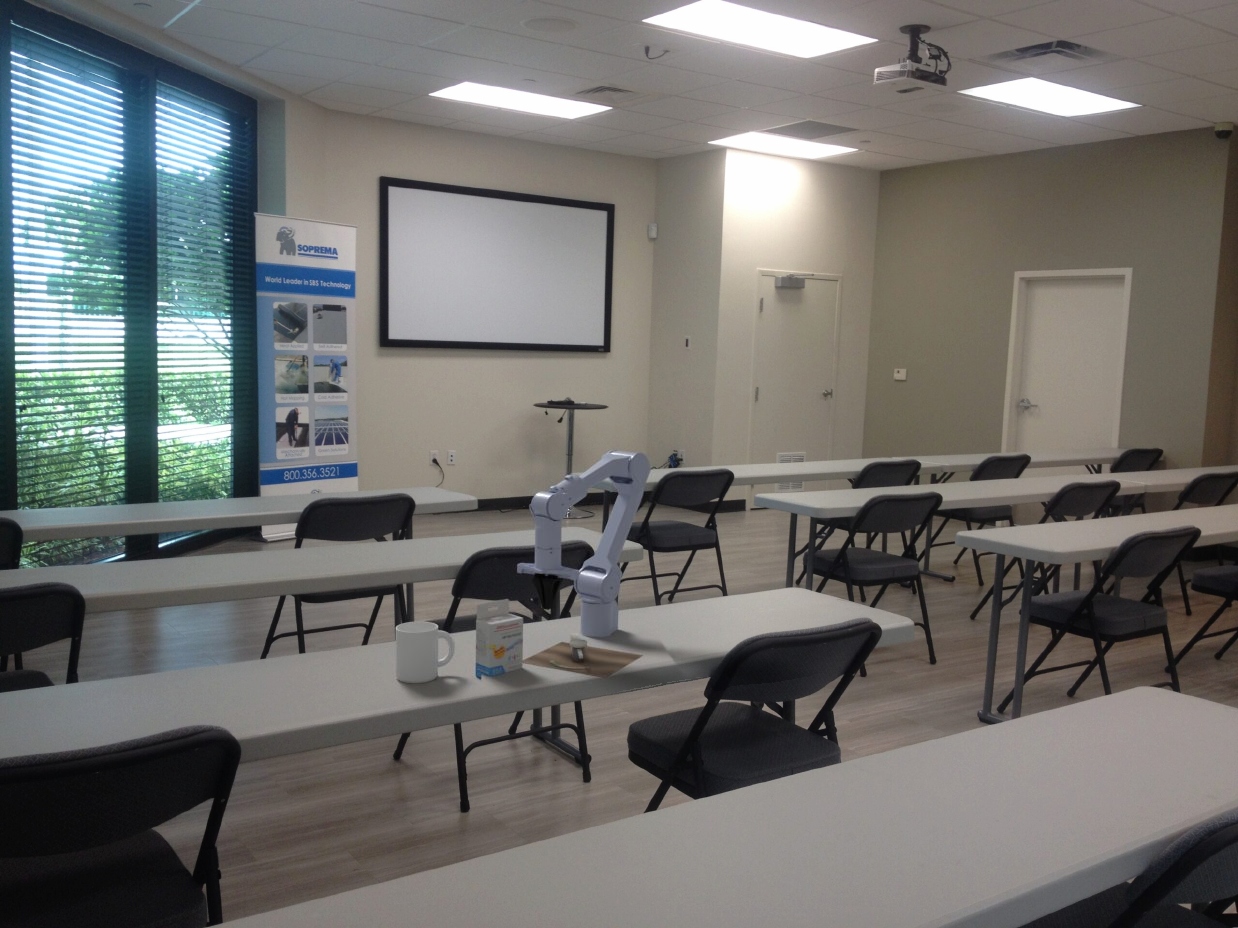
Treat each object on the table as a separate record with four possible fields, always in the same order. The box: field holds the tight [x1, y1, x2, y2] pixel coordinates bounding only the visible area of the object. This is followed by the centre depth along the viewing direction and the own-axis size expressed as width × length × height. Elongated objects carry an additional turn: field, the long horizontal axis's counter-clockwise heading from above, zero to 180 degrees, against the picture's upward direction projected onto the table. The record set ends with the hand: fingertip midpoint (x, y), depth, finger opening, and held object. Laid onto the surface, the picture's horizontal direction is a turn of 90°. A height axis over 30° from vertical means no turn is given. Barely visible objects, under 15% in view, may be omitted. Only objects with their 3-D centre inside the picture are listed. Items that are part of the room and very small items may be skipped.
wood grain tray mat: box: [522, 641, 644, 679], centre depth 207 cm, size 18×20×1 cm
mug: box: [395, 621, 456, 684], centre depth 197 cm, size 12×8×10 cm
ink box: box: [475, 598, 524, 679], centre depth 198 cm, size 8×5×15 cm, turn 135°
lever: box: [569, 632, 588, 662], centre depth 207 cm, size 15×4×4 cm, turn 8°
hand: (547, 608), depth 216 cm, fingers closed
